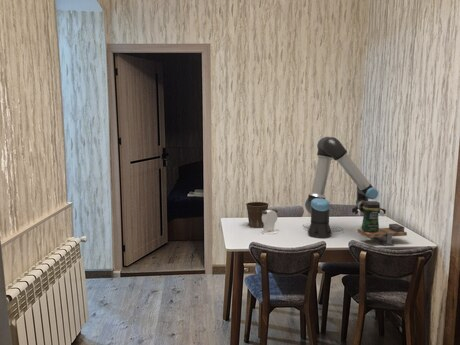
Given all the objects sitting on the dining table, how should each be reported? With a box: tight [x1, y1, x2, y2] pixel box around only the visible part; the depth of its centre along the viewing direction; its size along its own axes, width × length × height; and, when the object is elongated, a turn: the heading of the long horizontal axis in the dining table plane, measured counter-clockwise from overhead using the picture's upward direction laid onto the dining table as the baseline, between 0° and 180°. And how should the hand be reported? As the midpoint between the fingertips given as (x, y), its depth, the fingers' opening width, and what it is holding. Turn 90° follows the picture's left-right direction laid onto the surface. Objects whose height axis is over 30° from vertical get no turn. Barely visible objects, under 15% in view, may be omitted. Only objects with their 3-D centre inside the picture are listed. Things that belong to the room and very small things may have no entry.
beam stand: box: [369, 233, 395, 247], centre depth 238 cm, size 6×16×8 cm, turn 12°
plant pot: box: [245, 201, 269, 229], centre depth 276 cm, size 16×16×16 cm
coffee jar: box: [361, 200, 381, 232], centre depth 235 cm, size 10×8×19 cm
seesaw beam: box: [357, 223, 408, 239], centre depth 238 cm, size 26×12×5 cm, turn 101°
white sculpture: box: [260, 208, 279, 235], centre depth 261 cm, size 12×11×15 cm
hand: (371, 213), depth 236 cm, fingers open, 13 cm apart
